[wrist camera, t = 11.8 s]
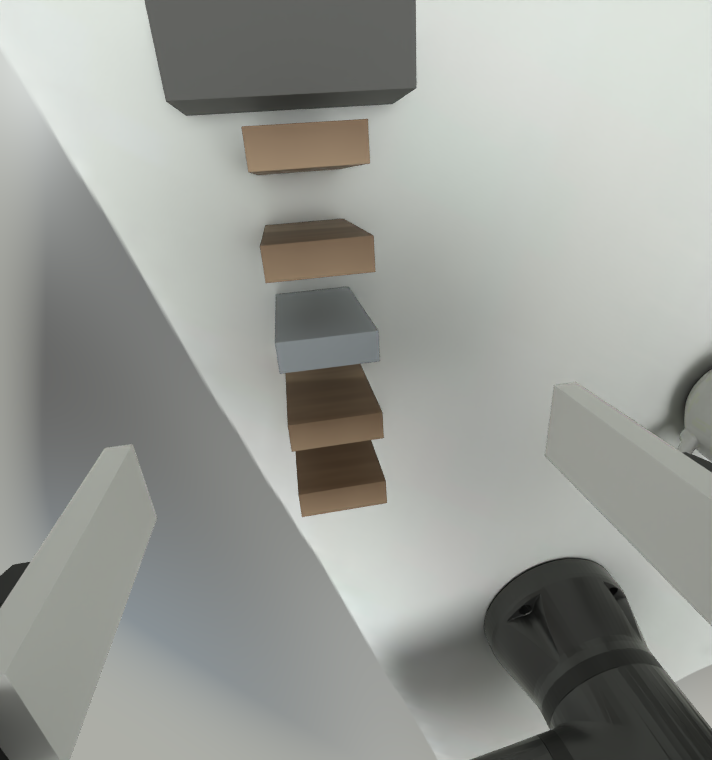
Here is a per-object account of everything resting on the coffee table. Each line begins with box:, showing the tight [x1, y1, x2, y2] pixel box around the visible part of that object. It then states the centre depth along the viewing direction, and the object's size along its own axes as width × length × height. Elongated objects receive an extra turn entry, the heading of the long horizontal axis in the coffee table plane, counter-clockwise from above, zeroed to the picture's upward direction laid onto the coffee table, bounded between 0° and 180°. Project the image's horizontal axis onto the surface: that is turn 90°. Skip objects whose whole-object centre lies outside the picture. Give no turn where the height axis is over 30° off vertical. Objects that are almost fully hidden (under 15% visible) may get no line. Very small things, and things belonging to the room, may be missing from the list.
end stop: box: [145, 0, 416, 116], centre depth 23 cm, size 4×12×5 cm, turn 94°
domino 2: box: [260, 219, 375, 283], centre depth 24 cm, size 2×5×10 cm, turn 94°
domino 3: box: [275, 287, 380, 374], centre depth 26 cm, size 2×5×10 cm, turn 94°
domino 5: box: [296, 440, 387, 517], centre depth 30 cm, size 2×5×10 cm, turn 94°
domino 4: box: [286, 364, 384, 452], centre depth 28 cm, size 2×5×10 cm, turn 94°
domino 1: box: [242, 119, 370, 175], centre depth 22 cm, size 2×5×10 cm, turn 94°
